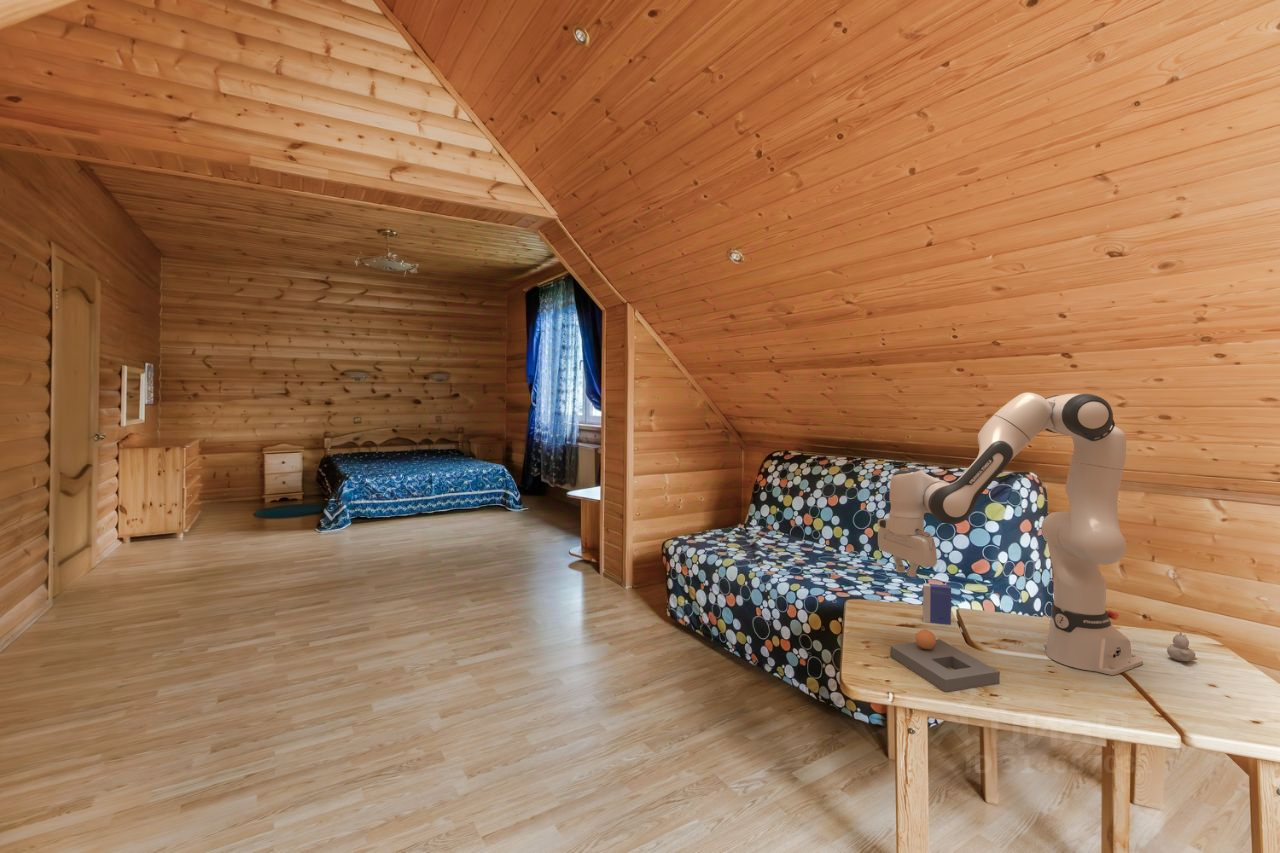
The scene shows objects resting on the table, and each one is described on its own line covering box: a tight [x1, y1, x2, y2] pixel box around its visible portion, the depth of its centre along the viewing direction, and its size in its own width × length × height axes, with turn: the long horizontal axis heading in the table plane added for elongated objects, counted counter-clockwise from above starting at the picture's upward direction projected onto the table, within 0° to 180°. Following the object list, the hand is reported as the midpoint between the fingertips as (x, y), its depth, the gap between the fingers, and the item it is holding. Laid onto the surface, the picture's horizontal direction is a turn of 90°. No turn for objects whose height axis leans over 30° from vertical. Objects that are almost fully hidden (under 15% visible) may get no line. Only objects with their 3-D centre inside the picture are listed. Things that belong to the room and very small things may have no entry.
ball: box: [915, 629, 937, 649], centre depth 156 cm, size 5×5×5 cm
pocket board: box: [889, 638, 1001, 693], centre depth 150 cm, size 16×20×3 cm
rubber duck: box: [1166, 630, 1196, 663], centre depth 153 cm, size 5×7×8 cm
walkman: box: [921, 583, 952, 626], centre depth 181 cm, size 8×3×12 cm, turn 70°
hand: (905, 574), depth 163 cm, fingers open, 3 cm apart
